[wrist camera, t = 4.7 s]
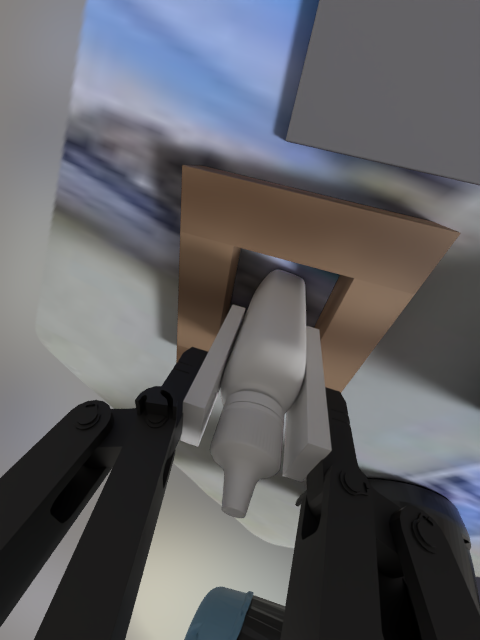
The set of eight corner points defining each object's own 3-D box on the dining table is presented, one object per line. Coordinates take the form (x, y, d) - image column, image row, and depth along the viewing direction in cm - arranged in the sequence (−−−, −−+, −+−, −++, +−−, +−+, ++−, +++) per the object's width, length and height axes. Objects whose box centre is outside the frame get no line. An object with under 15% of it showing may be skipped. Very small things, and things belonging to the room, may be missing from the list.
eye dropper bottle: (327, 305, 15) (373, 548, 5) (265, 342, 18) (223, 541, 8) (287, 257, 14) (253, 456, 4) (227, 304, 17) (128, 485, 7)
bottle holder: (320, 392, 20) (322, 417, 18) (188, 351, 21) (176, 370, 19) (432, 221, 11) (460, 232, 9) (201, 165, 12) (182, 165, 10)
